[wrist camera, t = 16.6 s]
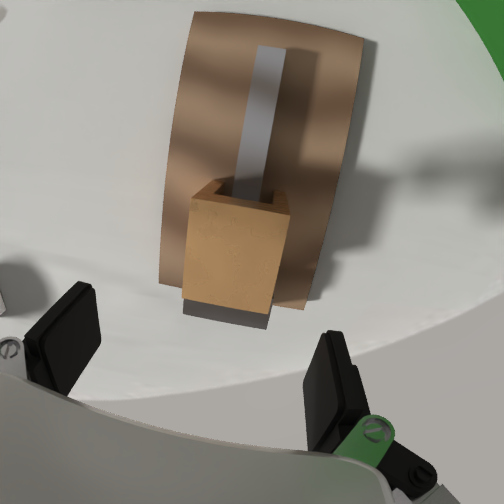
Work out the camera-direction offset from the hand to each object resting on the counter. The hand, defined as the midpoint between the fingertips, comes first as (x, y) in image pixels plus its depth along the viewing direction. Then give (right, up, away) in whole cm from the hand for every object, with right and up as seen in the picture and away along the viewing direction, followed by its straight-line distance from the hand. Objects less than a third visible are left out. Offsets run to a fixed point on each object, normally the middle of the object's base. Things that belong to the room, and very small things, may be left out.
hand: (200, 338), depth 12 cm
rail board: (+2, +11, +14) cm, 18 cm away
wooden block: (+1, +6, +14) cm, 15 cm away
